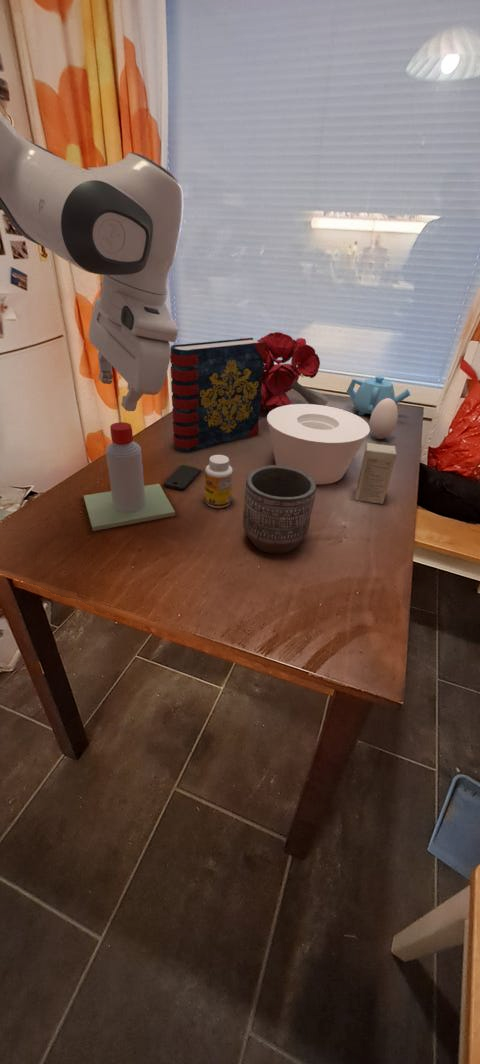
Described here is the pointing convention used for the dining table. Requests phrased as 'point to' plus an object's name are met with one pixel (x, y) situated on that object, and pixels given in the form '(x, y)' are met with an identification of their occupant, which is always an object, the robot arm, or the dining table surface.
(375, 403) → the teapot
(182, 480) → the black tag with hole
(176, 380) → the book
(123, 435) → the cap
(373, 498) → the cosmetic box
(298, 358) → the bouquet
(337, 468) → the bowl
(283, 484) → the planter
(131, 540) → the dining table surface
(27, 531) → the dining table surface
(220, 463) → the supplement bottle
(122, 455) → the bottle
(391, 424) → the egg
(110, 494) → the mat
